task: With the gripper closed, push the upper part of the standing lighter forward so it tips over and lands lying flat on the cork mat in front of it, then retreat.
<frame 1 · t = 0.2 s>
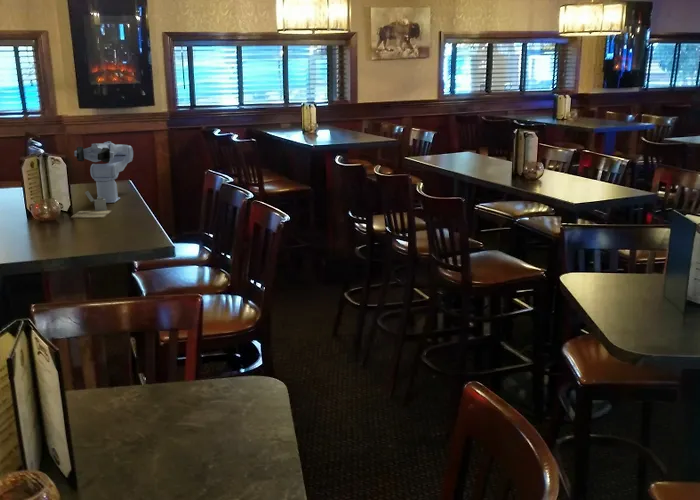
hand: (88, 156, 259), 21 cm above the table, tool horizontal, fingers open, 7 cm apart
cork mat: (91, 214, 258), on the table
lighter: (96, 211, 265), on the table
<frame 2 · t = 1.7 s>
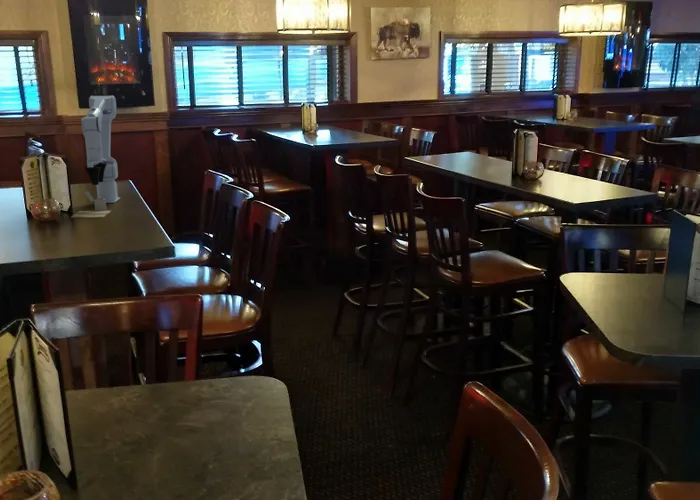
hand: (97, 183, 267), 10 cm above the table, tool pointing down, fingers open, 6 cm apart
nothing on the table moved.
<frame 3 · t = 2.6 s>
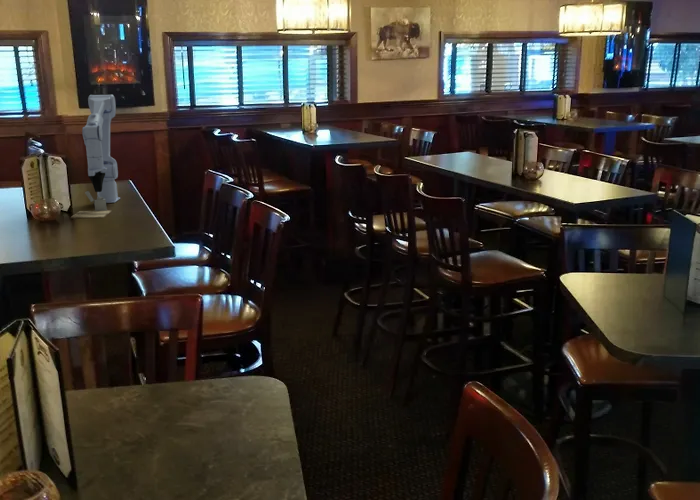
hand: (98, 191, 268), 7 cm above the table, tool pointing down, fingers closed
nothing on the table moved.
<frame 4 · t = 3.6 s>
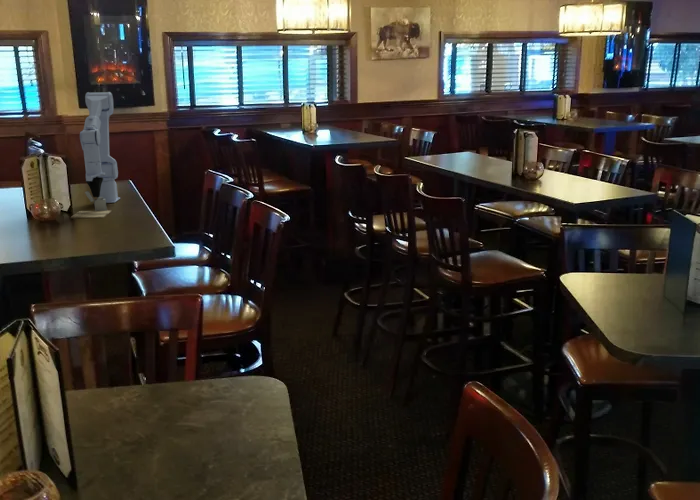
hand: (96, 196, 265), 5 cm above the table, tool pointing down, fingers closed
nothing on the table moved.
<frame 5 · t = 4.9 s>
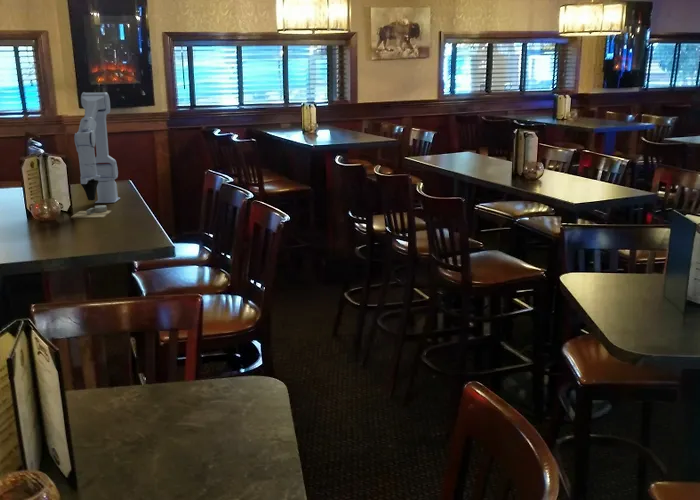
hand: (91, 200, 259), 5 cm above the table, tool pointing down, fingers closed
lighter: (96, 207, 265), point 1 cm above the table, touching cork mat
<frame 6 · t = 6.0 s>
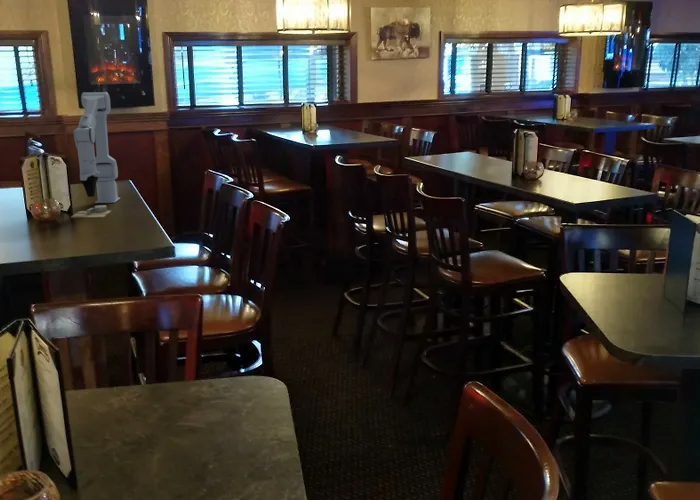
hand: (91, 196, 258), 7 cm above the table, tool pointing down, fingers closed
nothing on the table moved.
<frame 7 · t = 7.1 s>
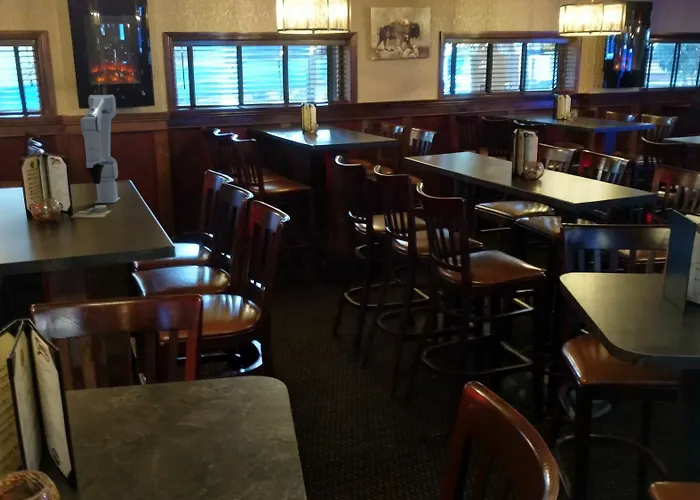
hand: (97, 183, 266), 10 cm above the table, tool pointing down, fingers closed
nothing on the table moved.
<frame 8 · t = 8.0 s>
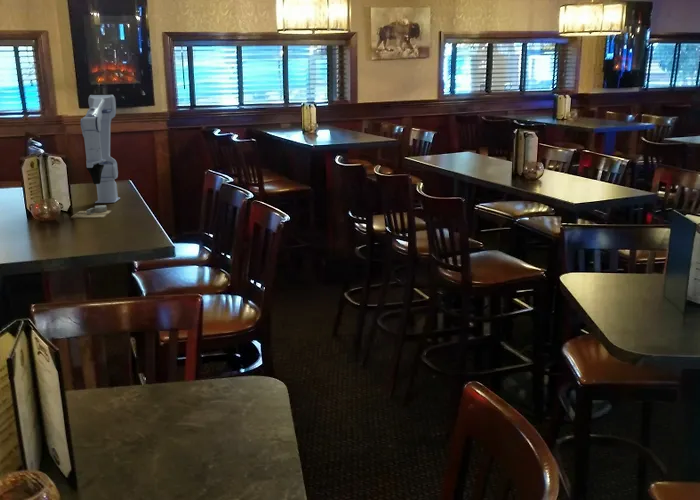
hand: (97, 183, 266), 10 cm above the table, tool pointing down, fingers closed
nothing on the table moved.
at the end: lighter tilted 90°; lighter inside the target area (5.9 cm from its centre), point 1.3 cm above the table; the gripper is holding nothing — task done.
